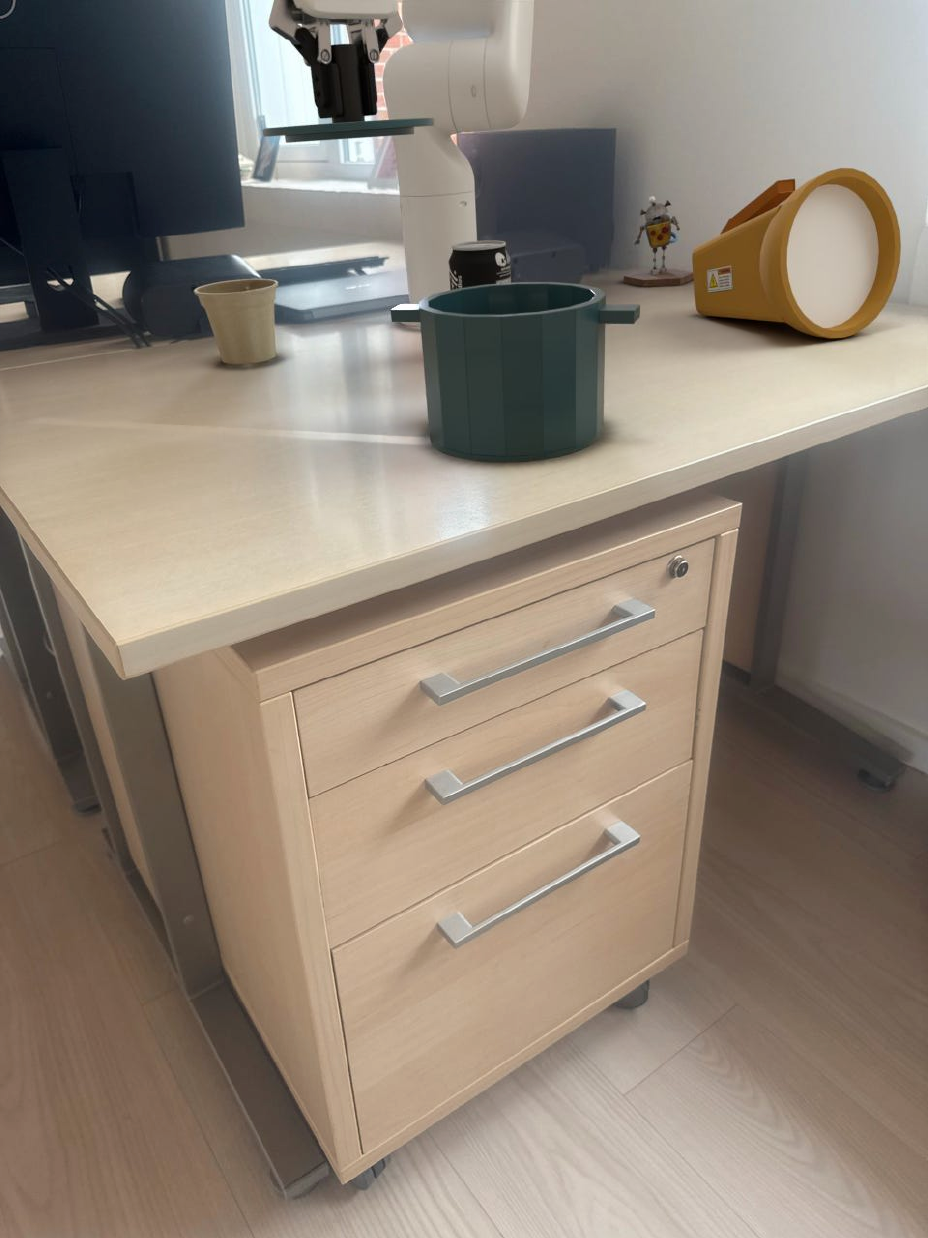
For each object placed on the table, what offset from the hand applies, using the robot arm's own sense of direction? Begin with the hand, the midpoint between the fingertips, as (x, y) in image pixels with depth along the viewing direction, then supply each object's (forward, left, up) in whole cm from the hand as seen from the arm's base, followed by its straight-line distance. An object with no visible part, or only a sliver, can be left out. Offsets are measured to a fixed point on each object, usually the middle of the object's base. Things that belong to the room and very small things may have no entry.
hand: (348, 114), depth 80 cm
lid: (0, 0, -1) cm, 1 cm away
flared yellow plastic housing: (-31, +38, -25) cm, 55 cm away
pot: (+14, +19, -25) cm, 34 cm away
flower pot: (-7, -20, -25) cm, 33 cm away
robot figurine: (-62, +20, -25) cm, 70 cm away
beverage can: (-11, +8, -25) cm, 28 cm away
